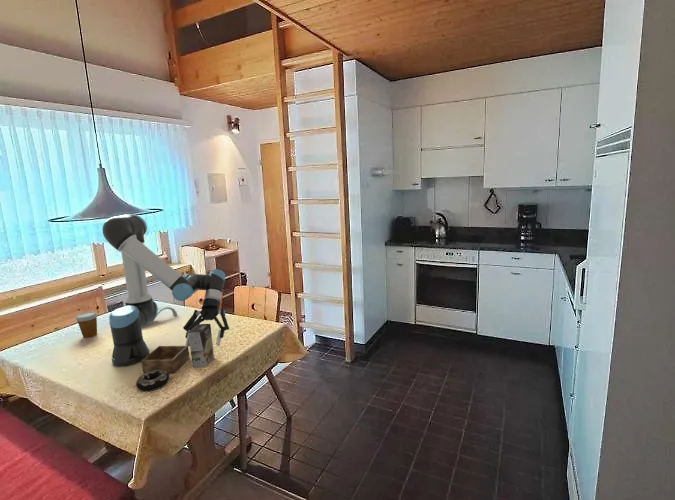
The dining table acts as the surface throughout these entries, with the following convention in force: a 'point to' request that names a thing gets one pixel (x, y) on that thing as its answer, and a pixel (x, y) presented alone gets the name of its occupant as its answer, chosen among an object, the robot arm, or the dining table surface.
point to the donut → (152, 380)
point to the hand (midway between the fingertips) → (202, 345)
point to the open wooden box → (166, 359)
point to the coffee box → (201, 345)
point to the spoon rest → (163, 309)
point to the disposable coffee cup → (88, 324)
